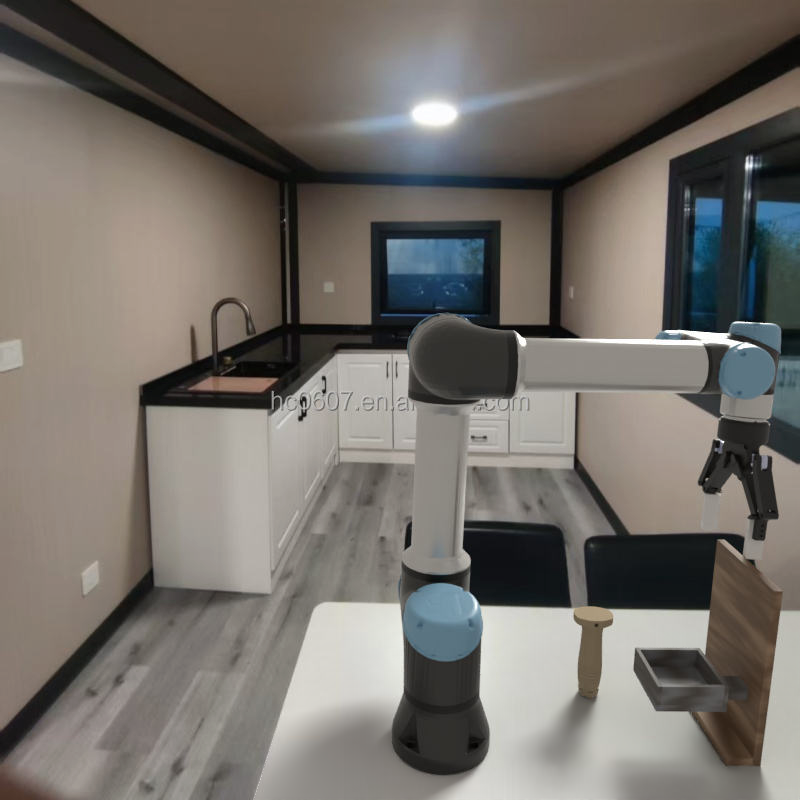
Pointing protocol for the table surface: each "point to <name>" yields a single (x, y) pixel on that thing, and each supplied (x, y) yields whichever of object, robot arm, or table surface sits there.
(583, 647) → the handle
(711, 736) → the bracket
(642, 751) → the table surface
